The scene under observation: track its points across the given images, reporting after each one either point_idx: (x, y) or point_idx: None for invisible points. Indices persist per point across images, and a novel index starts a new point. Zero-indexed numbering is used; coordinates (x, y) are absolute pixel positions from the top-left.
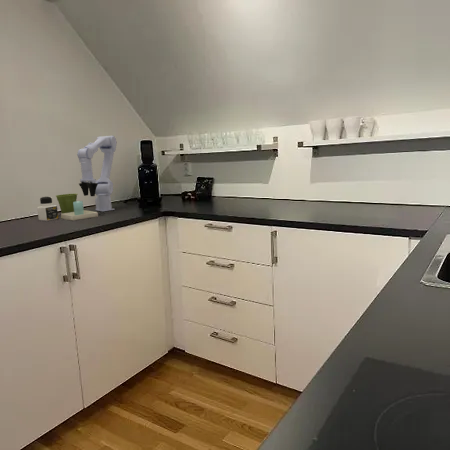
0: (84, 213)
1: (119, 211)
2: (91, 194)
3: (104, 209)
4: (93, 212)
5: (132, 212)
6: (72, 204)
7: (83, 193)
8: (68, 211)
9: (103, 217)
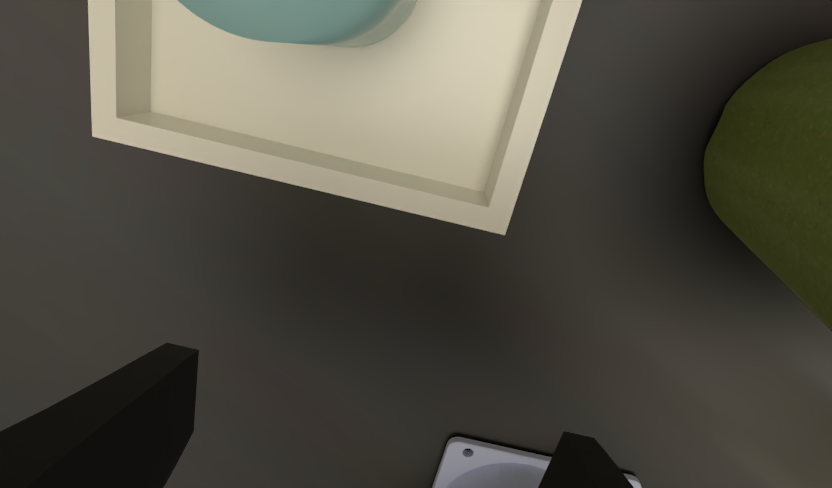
0: (486, 190)
1: (268, 483)
2: (118, 381)
3: (463, 481)
4: (189, 133)
5: None
6: (796, 176)
7: (619, 481)
8: (780, 78)
9: (19, 114)
